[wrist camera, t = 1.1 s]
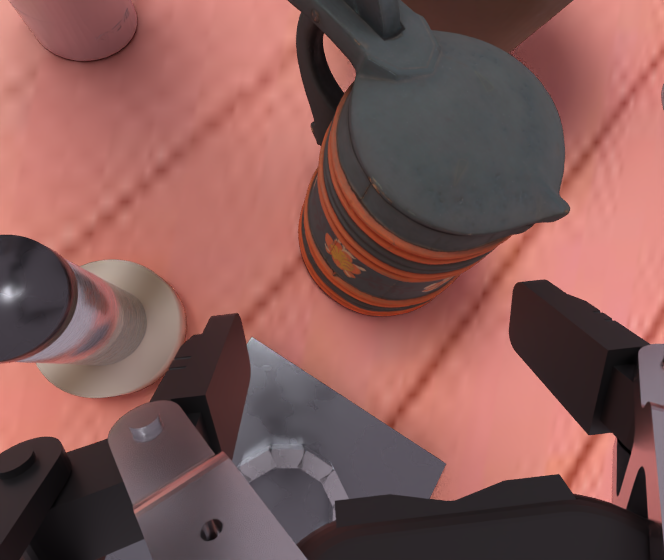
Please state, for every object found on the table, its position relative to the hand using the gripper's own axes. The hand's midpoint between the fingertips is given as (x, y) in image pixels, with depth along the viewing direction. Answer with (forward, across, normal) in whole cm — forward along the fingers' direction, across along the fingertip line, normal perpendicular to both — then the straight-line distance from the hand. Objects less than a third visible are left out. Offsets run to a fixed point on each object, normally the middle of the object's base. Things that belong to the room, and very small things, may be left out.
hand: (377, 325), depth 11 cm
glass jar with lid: (+15, +18, +7) cm, 24 cm away
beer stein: (+24, -2, +4) cm, 25 cm away
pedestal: (+17, +18, +8) cm, 26 cm away
